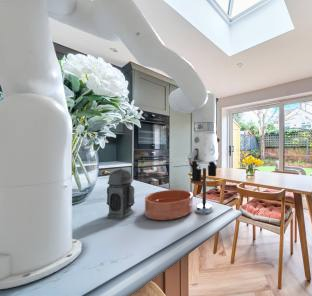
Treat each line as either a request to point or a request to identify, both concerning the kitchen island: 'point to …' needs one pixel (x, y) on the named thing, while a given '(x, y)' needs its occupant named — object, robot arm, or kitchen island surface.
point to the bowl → (168, 204)
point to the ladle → (204, 198)
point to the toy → (120, 194)
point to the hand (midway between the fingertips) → (204, 178)
